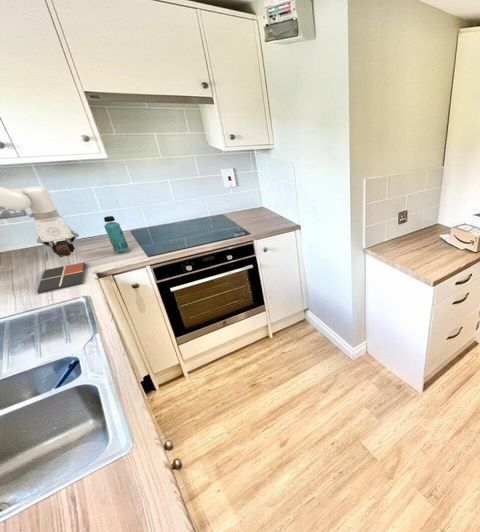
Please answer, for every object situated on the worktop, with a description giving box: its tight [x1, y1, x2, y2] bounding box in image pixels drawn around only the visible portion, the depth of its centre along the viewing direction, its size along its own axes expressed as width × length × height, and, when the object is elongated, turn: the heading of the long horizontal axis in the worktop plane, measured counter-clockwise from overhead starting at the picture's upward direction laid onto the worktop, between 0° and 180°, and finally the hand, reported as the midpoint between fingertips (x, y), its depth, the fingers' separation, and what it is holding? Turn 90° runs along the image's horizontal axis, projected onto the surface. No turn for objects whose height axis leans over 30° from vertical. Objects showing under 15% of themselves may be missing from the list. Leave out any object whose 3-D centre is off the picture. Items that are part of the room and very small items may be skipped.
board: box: [36, 261, 86, 294], centre depth 148 cm, size 14×24×1 cm, turn 39°
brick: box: [55, 239, 72, 258], centre depth 148 cm, size 11×4×5 cm, turn 41°
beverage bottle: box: [103, 215, 129, 253], centre depth 169 cm, size 6×7×20 cm
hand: (65, 252), depth 150 cm, fingers closed on brick, 4 cm apart
